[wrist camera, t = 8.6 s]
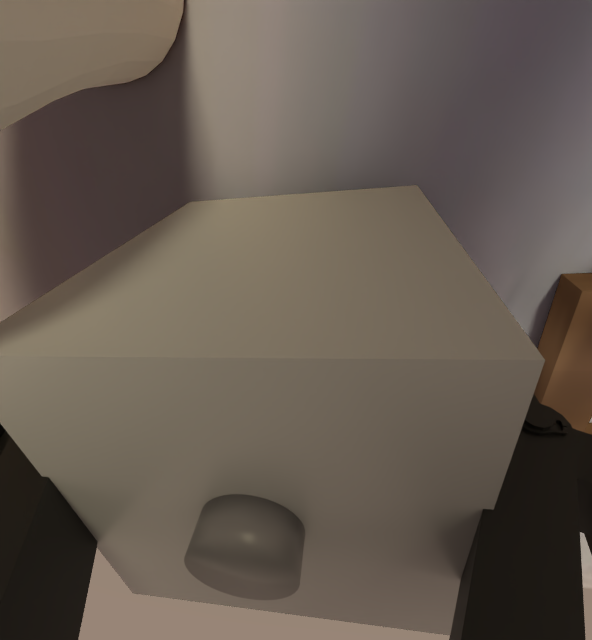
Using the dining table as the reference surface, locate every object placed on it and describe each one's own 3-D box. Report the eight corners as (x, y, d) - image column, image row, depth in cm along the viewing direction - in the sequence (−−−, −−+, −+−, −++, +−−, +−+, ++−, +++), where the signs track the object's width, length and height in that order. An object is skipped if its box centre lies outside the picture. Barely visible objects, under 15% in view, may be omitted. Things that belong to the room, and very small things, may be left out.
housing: (190, 201, 13) (-114, 394, 4) (417, 185, 12) (586, 415, 3) (232, 369, 17) (116, 631, 9) (402, 371, 16) (458, 684, 7)
